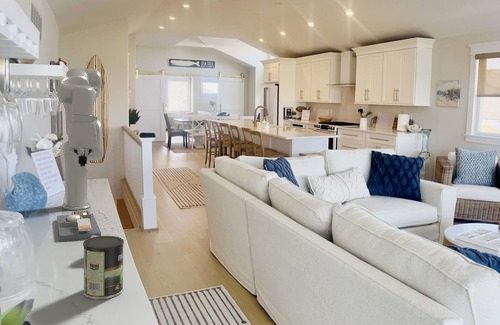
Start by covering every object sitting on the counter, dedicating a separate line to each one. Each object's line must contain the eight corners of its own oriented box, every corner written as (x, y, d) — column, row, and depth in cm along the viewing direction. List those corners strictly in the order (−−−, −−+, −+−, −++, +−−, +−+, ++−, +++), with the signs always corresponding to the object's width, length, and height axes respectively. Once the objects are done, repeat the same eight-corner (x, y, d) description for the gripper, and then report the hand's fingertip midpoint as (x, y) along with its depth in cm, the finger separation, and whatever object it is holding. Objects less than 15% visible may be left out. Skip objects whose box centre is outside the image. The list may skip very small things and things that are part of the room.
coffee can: (123, 282, 121) (123, 234, 119) (123, 298, 112) (123, 246, 110) (84, 284, 118) (84, 236, 116) (81, 301, 109) (81, 248, 107)
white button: (67, 219, 167) (67, 215, 167) (79, 218, 169) (79, 214, 169) (67, 222, 163) (67, 218, 163) (80, 221, 165) (80, 217, 165)
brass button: (74, 215, 177) (74, 211, 177) (86, 214, 179) (86, 211, 179) (75, 218, 173) (75, 214, 172) (87, 217, 175) (87, 213, 174)
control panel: (57, 220, 176) (57, 211, 176) (92, 218, 183) (92, 209, 182) (59, 241, 152) (59, 231, 151) (101, 237, 158) (101, 227, 157)
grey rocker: (76, 221, 162) (76, 218, 162) (89, 220, 164) (89, 218, 164) (78, 231, 155) (78, 228, 154) (91, 230, 157) (91, 227, 156)
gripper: (102, 118, 169) (101, 163, 172) (61, 117, 162) (61, 164, 166) (104, 120, 162) (103, 167, 166) (62, 119, 156) (62, 168, 159)
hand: (82, 165), depth 166 cm, fingers closed
